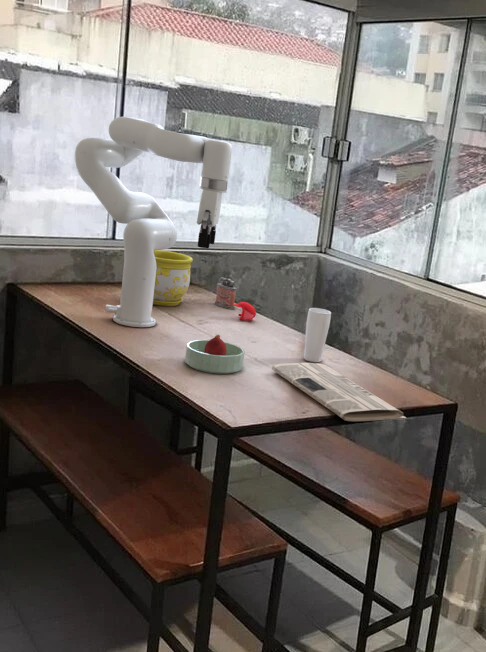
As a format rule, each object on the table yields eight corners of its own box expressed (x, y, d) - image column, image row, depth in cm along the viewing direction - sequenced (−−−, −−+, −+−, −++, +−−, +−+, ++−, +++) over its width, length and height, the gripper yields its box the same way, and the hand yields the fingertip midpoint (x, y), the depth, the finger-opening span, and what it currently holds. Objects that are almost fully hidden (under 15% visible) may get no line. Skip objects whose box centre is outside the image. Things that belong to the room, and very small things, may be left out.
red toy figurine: (249, 317, 279) (252, 300, 277) (257, 321, 274) (260, 304, 273) (228, 316, 274) (231, 299, 273) (236, 321, 269) (239, 304, 268)
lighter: (236, 308, 289) (239, 281, 286) (230, 309, 286) (233, 281, 283) (218, 303, 293) (222, 276, 290) (212, 303, 290) (216, 276, 287)
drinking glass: (306, 363, 233) (314, 313, 230) (297, 356, 239) (304, 307, 235) (327, 363, 236) (335, 314, 233) (317, 357, 242) (325, 308, 238)
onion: (220, 368, 213) (224, 339, 211) (199, 363, 214) (203, 334, 212) (227, 363, 218) (231, 334, 216) (207, 358, 219) (211, 330, 217)
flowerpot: (122, 297, 276) (127, 250, 273) (160, 293, 292) (165, 248, 288) (161, 310, 268) (167, 261, 264) (198, 305, 283) (203, 259, 279)
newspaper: (271, 372, 218) (272, 362, 218) (332, 371, 229) (333, 362, 228) (341, 422, 189) (343, 410, 188) (407, 418, 199) (409, 408, 198)
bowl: (179, 369, 208) (182, 350, 207) (190, 354, 223) (192, 336, 222) (238, 378, 209) (241, 359, 208) (245, 362, 224) (247, 345, 223)
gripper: (205, 181, 235) (197, 239, 239) (195, 184, 219) (187, 247, 223) (230, 185, 236) (223, 243, 240) (222, 189, 219) (214, 251, 223)
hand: (205, 245), depth 231 cm, fingers open, 9 cm apart
